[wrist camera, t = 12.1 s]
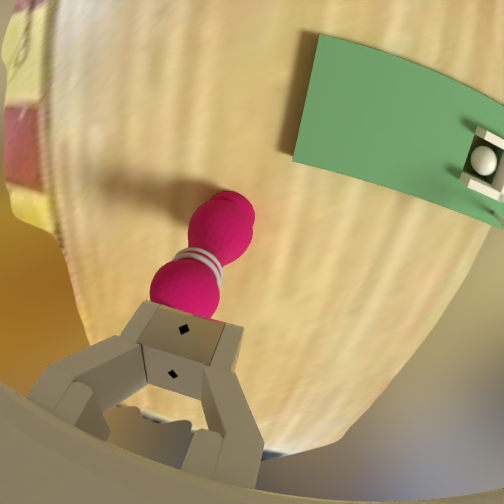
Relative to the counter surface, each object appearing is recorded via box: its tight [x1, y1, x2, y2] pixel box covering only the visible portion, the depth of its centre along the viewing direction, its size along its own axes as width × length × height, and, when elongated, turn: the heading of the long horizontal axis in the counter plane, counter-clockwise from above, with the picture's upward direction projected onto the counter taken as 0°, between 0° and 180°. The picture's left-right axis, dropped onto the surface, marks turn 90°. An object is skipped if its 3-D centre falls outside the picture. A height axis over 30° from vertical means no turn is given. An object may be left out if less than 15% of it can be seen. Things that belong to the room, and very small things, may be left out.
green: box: [292, 34, 504, 229], centre depth 25 cm, size 16×28×14 cm, turn 81°
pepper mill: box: [150, 191, 255, 318], centre depth 32 cm, size 7×7×20 cm
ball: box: [471, 146, 497, 176], centre depth 28 cm, size 3×3×3 cm
